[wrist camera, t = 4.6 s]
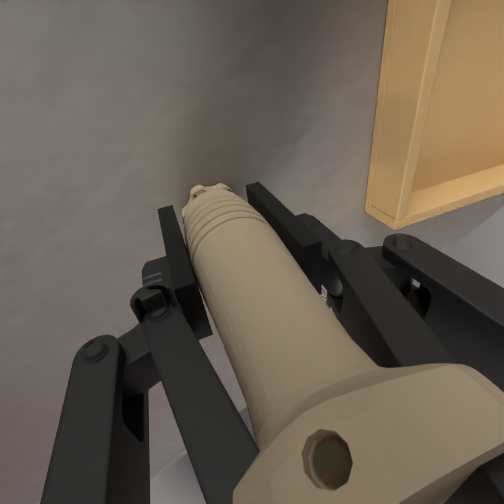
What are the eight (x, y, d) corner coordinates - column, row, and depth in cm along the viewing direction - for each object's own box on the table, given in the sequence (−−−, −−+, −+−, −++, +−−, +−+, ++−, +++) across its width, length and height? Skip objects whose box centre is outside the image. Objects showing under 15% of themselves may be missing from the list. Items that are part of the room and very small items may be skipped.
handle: (270, 205, 18) (522, 461, 7) (188, 262, 19) (292, 610, 7) (233, 138, 15) (571, 389, 4) (135, 206, 16) (156, 661, 4)
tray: (404, -148, 12) (476, -202, 9) (627, -153, 14) (728, -196, 12) (364, 211, 21) (394, 230, 19) (502, 167, 24) (543, 179, 22)
